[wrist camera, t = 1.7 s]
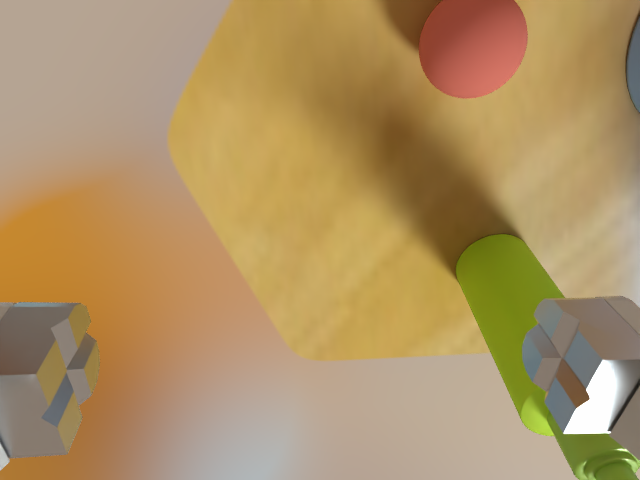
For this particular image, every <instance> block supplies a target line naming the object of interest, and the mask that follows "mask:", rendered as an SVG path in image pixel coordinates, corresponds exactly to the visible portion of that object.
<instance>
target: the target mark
mask: <svg viewBox="0 0 640 480" xmlns="http://www.w3.org/2000/svg"><path fill="white" fill-rule="evenodd" d="M626 78H627V86H628V90H629V93H630V97H631V100H632V102H633V104H634V106H635V107H636V109H637V110H638V112H639V113H640V16H639V18H638V21H637V23H636V26H635V28H634V31H633V34H632V38H631V41H630V45H629V49H628V56H627V64H626Z"/></svg>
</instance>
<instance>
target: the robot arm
mask: <svg viewBox="0 0 640 480" xmlns="http://www.w3.org/2000/svg"><path fill="white" fill-rule="evenodd" d="M534 317H535V319H536V321H537V323H538V324H537V325H536V326H534V327H533V328H532V329H531V330H529V331H528V332H527V333H526V336H525V339H524V342H523V345H522V359H523V363H524V366H525V370H526V372H527V374H528V375H529V377H530V379H531V381H532V382H533V383H534V384H536V385H537V386H539V387H540V388H541V389H543V390H544V391H546V395H545V400H544V402H545V404H546V406H547V407H548V409H549V411H550V412H551V414H552V416H553V417H554V419H555V421H556V422H557V424H558V426H559V427H560V429H561V431H562V432H563V434H569V433H610V434H609V436H610V437H611V438H613V439H614V440H615V441H616V442H617V443H619V444H620V445H621V446H622V447H624V448H625V449H626V450H627V451H628V452H630V453H631V454H632V455H633V456H635V457H636V458H637V459H638V460H639V461H640V308H639V307H638V306H637V305H636V304H635V303H634V302H633V301H632V300H630V299H627V298H625V297H623V296H612V297H595V298H544V299H543V300H542V301H541V302H540V303H539V304H538V306H537V308H536V311H535V313H534ZM90 323H91V320H90V316H89V313H88V310H87V307H86V306H85V305H83V304H81V303H32V302H19V303H0V470H1V469H2V468H3V467H4V466H5V465H6V464H7V463H9V458H22V457H36V456H51V455H65V454H68V451H69V449H70V446H71V444H72V442H73V439H74V437H75V434H76V432H77V430H78V427H79V425H80V422H81V420H82V415H81V412H80V409H79V405H80V404H81V403H83V402H84V401H85V400H86V399H88V398H89V397H90V396H91V395H92V393H93V390H94V388H95V385H96V382H97V378H98V372H99V366H100V359H99V349H98V345H97V341H96V340H95V339H94V338H92V337H91V336H90V335H89V334H87V333H86V331H87V329H88V327H89V324H90Z"/></svg>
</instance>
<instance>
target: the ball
mask: <svg viewBox="0 0 640 480" xmlns="http://www.w3.org/2000/svg"><path fill="white" fill-rule="evenodd" d="M527 38H528V33H527V25H526V21H525V17H524V15H523V12H522V11H521V9H520V7H519V6H518V5H517V3H516V2H515V1H514V0H442V1H441V2H440V3H439V4H438V5H437V6H436V7H435V8H434V9H433V11H432V12H431V14H430V15H429V16H428V18H427V20H426V22H425V24H424V26H423V29H422V32H421V36H420V41H419V56H420V62H421V66H422V68H423V71H424V73H425V75H426V76H427V78H428V79H429V81H430V82H431V83H432V84H433V85H434V86H435V87H436V88H437V89H439V90H440V91H442V92H443V93H445V94H447V95H450V96H453V97H458V98H476V97H481V96H484V95H487V94H489V93H491V92H493V91H495V90H497V89H498V88H500V87H501V86H502V85H504V84H505V83H506V82H507V81H508V80H509V79H510V78H511V77H512V76H513V74H514V73H515V72H516V70H517V69H518V67H519V65H520V64H521V62H522V59H523V57H524V54H525V51H526V46H527Z"/></svg>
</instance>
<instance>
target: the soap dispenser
mask: <svg viewBox="0 0 640 480" xmlns="http://www.w3.org/2000/svg"><path fill="white" fill-rule="evenodd" d="M456 276H457V279H458V282H459V284H460V286H461V288H462V290H463V293H464V295H465V297H466V299H467V301H468V304H469V306H470V308H471V310H472V312H473V315H474V317H475V319H476V321H477V323H478V326H479V328H480V330H481V332H482V334H483V337H484V339H485V341H486V343H487V345H488V348H489V350H490V352H491V354H492V356H493V359H494V361H495V363H496V365H497V367H498V370H499V372H500V374H501V376H502V378H503V380H504V383H505V385H506V387H507V389H508V391H509V394H510V396H511V398H512V400H513V402H514V405H515V407H516V409H517V411H518V413H519V416H520V418H521V420H522V422H523V423H524V425H525V426H526V427H527V428H529V430H531V431H533V432H535V433H538V434H541V435H546V436H555V438H556V440H557V442H558V444H559V446H560V448H561V450H562V452H563V454H564V456H565V458H566V460H567V461H568V463H569V465H570V467H571V469H572V471H573V473H574V475H575V476H576V477H577V478H578V479H579V480H639V479H638V478H637V476H636V475H635V473H636V472H637V470H638V469H639V467H640V461H639V460H638V459H637V458H636V457H635V456H633V455H632V454H631V453H630V452H628V451H627V450H626V449H625V448H624V447H622V446H621V445H620V444H619V443H617V442H616V441H615V440H614V439H613V438H611V437H610V436H609V434H610V433H569V434H563V432H562V431H561V429H560V427H559V426H558V424H557V422H556V421H555V419H554V417H553V416H552V414H551V412H550V411H549V409H548V407H547V406H546V404H545V402H544V400H545V395H546V391H544V390H543V389H541V388H540V387H539V386H537V385H536V384H534V383H533V382H532V381H531V379H530V377H529V375H528V374H527V372H526V370H525V366H524V363H523V359H522V345H523V342H524V339H525V336H526V333H527V332H528V331H529V330H531V329H532V328H533V327H534V326H536V325H537V324H538V323H537V321H536V319H535V317H534V313H535V311H536V308H537V306H538V304H539V303H540V302H541V301H542V300H543V299H544V298H565V297H564V296H563V294H562V293H561V292H560V290H559V289H558V287H557V286H556V285H555V283H554V282H553V281H552V279H551V278H550V276H549V275H548V274H547V272H546V271H545V269H544V268H543V267H542V265H541V264H540V263H539V261H538V260H537V258H536V257H535V256H534V254H533V253H532V252H531V250H530V249H529V247H528V246H527V245H526V244H525V242H523V241H522V240H521V239H519V238H517V237H515V236H512V235H506V234H497V235H491V236H487V237H484V238H482V239H480V240H478V241H476V242H474V243H473V244H471V245H470V246H469V247H468V248H467V249H466V250H465V251H464V252H463V253H462V254H461V256H460V258H459V260H458V262H457V265H456Z"/></svg>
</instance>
